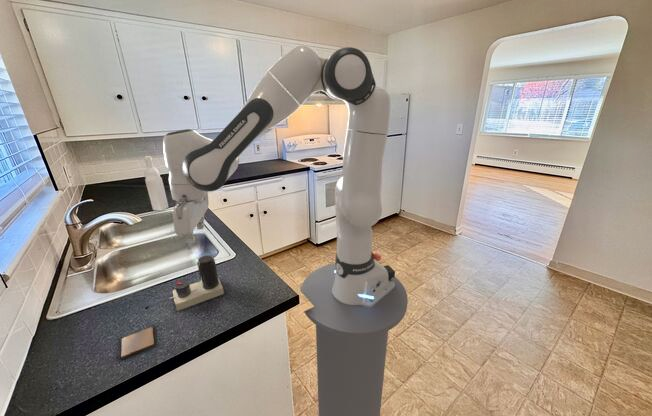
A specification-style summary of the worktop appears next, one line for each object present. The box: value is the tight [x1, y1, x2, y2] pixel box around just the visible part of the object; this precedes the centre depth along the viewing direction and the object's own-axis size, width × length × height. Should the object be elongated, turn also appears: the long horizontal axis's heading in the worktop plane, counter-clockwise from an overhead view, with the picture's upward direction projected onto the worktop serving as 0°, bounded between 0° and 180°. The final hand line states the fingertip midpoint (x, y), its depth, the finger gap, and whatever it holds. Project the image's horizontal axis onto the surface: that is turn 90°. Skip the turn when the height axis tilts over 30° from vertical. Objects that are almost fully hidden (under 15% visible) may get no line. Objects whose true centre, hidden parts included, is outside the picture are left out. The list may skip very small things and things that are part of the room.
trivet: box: [120, 326, 155, 359], centre depth 71 cm, size 7×7×1 cm
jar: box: [196, 254, 220, 290], centre depth 87 cm, size 5×5×10 cm
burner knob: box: [174, 280, 191, 298], centre depth 84 cm, size 4×4×4 cm
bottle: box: [144, 155, 161, 179], centre depth 166 cm, size 8×8×30 cm
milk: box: [144, 173, 169, 212], centre depth 158 cm, size 6×6×22 cm
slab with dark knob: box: [169, 277, 225, 312], centre depth 87 cm, size 15×8×3 cm, turn 124°
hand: (196, 235), depth 79 cm, fingers open, 8 cm apart
